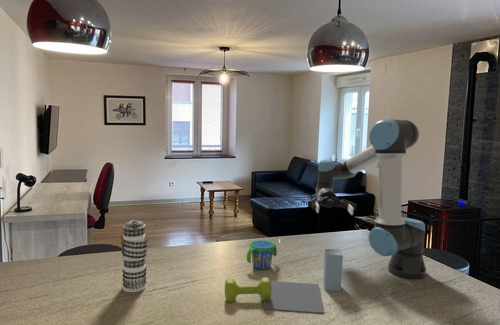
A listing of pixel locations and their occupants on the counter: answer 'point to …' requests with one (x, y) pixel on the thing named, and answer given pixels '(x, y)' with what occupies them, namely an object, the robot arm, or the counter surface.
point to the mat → (295, 297)
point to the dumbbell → (248, 289)
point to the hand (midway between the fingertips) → (335, 210)
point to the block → (332, 269)
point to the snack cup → (261, 253)
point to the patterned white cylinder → (134, 256)
